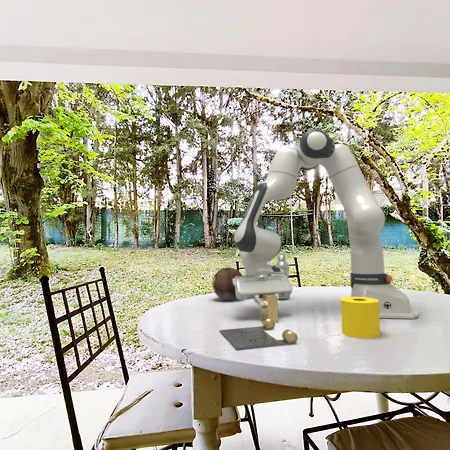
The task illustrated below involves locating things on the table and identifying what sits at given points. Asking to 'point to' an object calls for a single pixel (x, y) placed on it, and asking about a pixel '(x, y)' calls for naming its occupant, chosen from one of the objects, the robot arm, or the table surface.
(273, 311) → the plate
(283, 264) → the plastic bottle
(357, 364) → the table surface
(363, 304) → the yellow toilet paper roll
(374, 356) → the table surface
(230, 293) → the wooden sphere
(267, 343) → the fixed leaf
